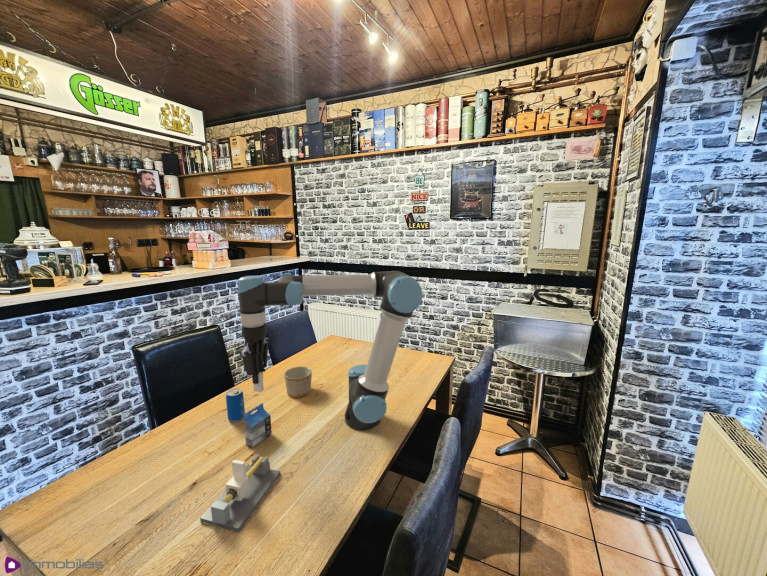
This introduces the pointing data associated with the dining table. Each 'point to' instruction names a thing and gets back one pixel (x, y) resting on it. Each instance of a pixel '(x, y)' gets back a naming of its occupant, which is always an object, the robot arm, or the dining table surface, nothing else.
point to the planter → (298, 381)
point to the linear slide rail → (238, 512)
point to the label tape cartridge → (257, 425)
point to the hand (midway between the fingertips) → (258, 390)
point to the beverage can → (235, 405)
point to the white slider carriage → (238, 480)
